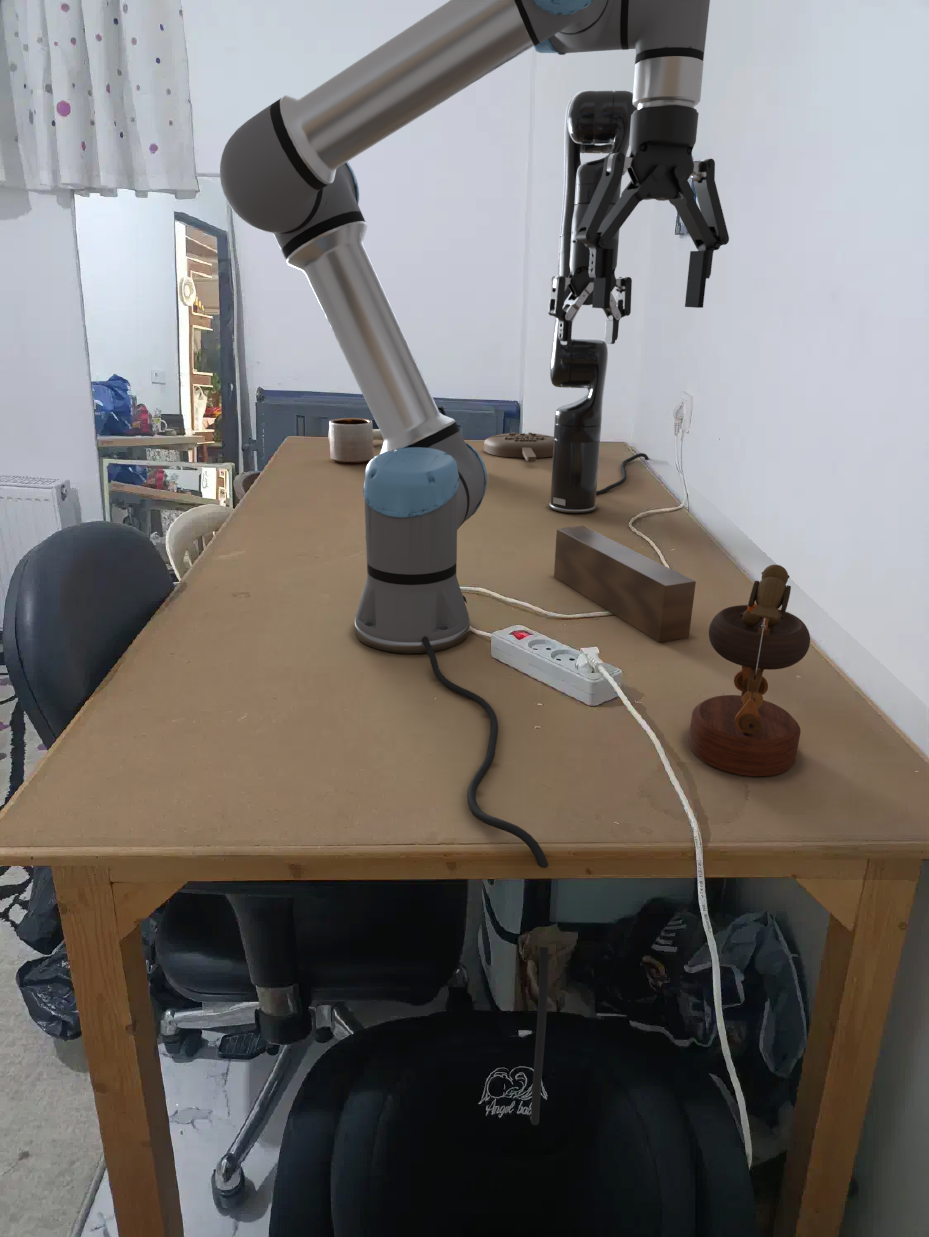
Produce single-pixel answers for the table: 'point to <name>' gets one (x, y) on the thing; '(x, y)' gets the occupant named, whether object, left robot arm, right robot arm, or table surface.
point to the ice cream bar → (520, 445)
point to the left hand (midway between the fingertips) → (648, 308)
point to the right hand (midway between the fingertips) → (587, 344)
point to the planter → (351, 440)
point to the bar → (625, 583)
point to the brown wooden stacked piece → (752, 684)
